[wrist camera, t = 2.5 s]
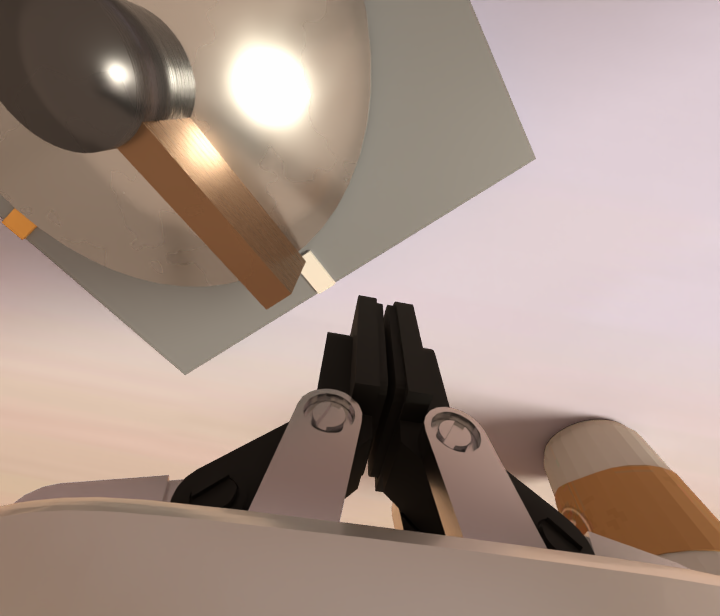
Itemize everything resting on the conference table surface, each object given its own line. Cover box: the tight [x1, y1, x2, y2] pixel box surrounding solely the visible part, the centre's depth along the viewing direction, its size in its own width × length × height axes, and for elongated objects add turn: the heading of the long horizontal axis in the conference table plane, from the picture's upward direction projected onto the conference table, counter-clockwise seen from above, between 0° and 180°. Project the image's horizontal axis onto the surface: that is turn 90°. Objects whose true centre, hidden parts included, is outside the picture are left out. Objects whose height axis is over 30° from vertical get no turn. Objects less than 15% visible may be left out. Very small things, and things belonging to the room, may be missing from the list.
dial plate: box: [0, 0, 536, 375], centre depth 14 cm, size 21×21×2 cm
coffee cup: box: [543, 420, 720, 576], centre depth 18 cm, size 8×8×15 cm
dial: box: [0, 0, 371, 310], centre depth 11 cm, size 16×16×5 cm
